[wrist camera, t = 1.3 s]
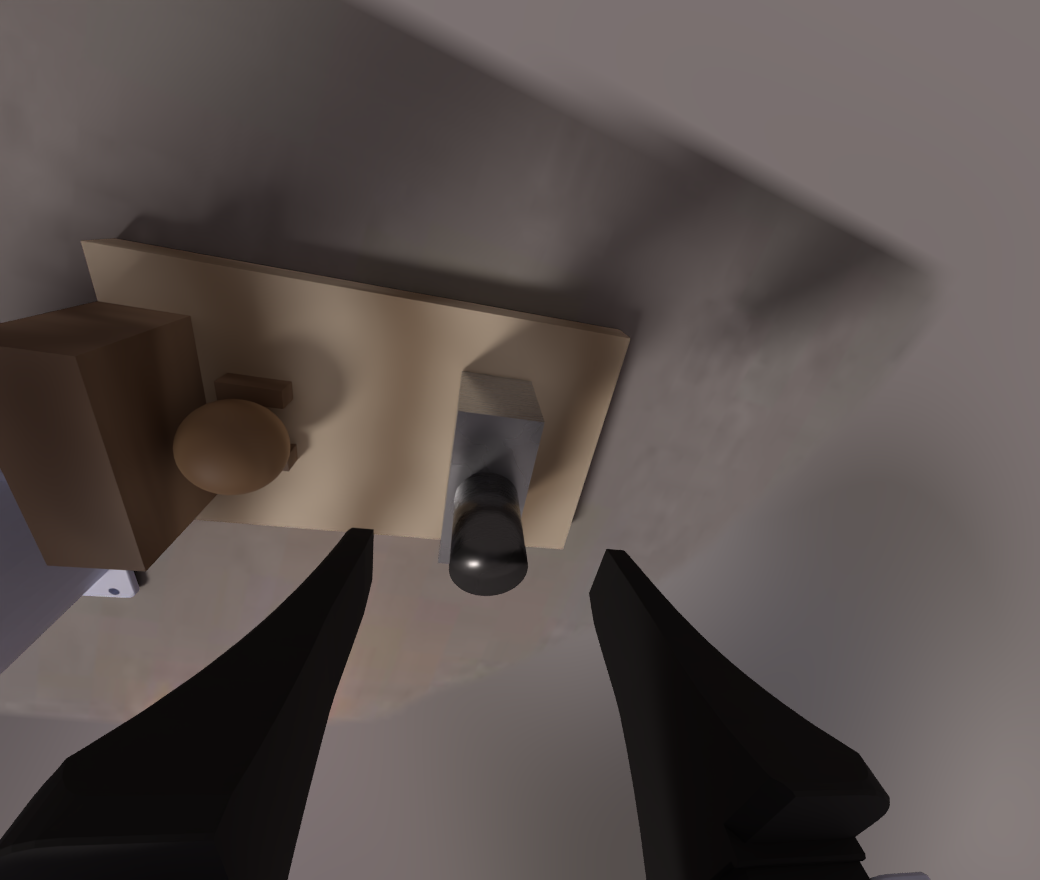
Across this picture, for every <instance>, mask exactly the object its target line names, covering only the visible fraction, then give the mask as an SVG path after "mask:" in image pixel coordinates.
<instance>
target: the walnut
mask: <svg viewBox="0 0 1040 880" xmlns="http://www.w3.org/2000/svg"><path fill="white" fill-rule="evenodd" d="M173 454H174V459H175V462H176V464H177V466H178V468H179V470H180V471H181V473H182V474H183V475H184V476H185V477H186V478H187V479H188V480H189V481H190V482H191V483H193V484H194V485H196V486H197V487H199V488H201V489H203V490H206V491H209V492H212V493H216V494H222V495H240V494H246V493H250V492H253V491H256V490H259V489H261V488H263V487H265V486H266V485H268V484H269V483H271V482H272V481H273V480H275V479H276V478H277V477H278V476H279V474H280V473H281V472H282V471H283V469H284V467H285V466H286V464H287V461H288V458H289V455H290V438H289V435H288V431H287V429H286V427H285V426H284V424H283V423H282V421H281V420H280V419H279V418H278V417H277V416H276V415H275V414H274V413H273V412H272V411H270V410H269V409H267V408H265V407H264V406H262V405H259V404H257V403H254V402H251V401H247V400H240V399H224V400H217V401H214V402H210V403H207V404H205V405H203V406H201V407H199V408H197V409H195V410H194V411H192V412H191V413H190V414H189V415H188V416H187V417H186V418H185V419H184V420H183V421H182V422H181V424H180V425H179V427H178V429H177V431H176V433H175V436H174V440H173Z"/></svg>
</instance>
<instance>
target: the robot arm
mask: <svg viewBox="0 0 1040 880" xmlns="http://www.w3.org/2000/svg"><path fill="white" fill-rule="evenodd" d="M373 538H374V529H364V528H350V529H349V530H348V531H347V532H346V533H345V535H344V536H343V537H342V539H341V540H340V541H339V542H338V544H337V545H336V546H335V547H334V548H333V550H332V551H331V552H330V553H329V554H328V556H327V557H326V558H325V559H324V560H323V561H322V562H321V564H320V565H319V566H318V567H317V568H316V569H315V570H314V571H313V572H312V573H311V574H310V575H309V577H308V578H307V579H306V580H305V581H304V582H303V583H302V584H301V585H300V586H299V587H298V588H297V589H296V590H295V591H294V592H293V593H292V594H291V595H290V596H289V597H288V598H287V599H286V600H285V601H284V602H283V603H282V604H281V605H280V606H279V607H278V608H277V609H275V610H274V611H273V612H272V613H271V614H270V615H269V616H268V617H267V618H266V619H264V620H263V621H262V622H261V623H260V624H259V625H258V626H257V627H255V628H254V629H253V630H252V631H251V632H249V633H248V634H247V635H246V636H245V637H244V638H242V639H241V640H240V641H239V642H237V643H236V644H235V645H234V646H232V647H231V648H230V649H229V650H227V651H226V652H225V653H224V654H222V655H221V656H220V657H218V658H217V659H216V660H215V661H213V662H212V663H211V664H209V665H208V666H207V667H205V668H204V669H203V670H201V671H200V672H199V673H197V674H196V675H195V676H193V677H192V678H190V679H189V680H187V681H186V682H185V683H183V684H182V685H180V686H179V687H177V688H176V689H174V690H173V691H172V692H170V693H169V694H167V695H166V696H164V697H163V698H161V699H160V700H159V701H157V702H156V703H154V704H153V705H151V706H150V707H148V708H147V709H145V710H144V711H142V712H141V713H139V714H138V715H136V716H135V717H133V718H131V719H130V720H128V721H127V722H125V723H123V724H122V725H120V726H119V727H117V728H115V729H114V730H112V731H111V732H109V733H107V734H106V735H104V736H102V737H101V738H99V739H98V740H96V741H94V742H93V743H91V744H90V745H88V746H86V747H85V748H83V749H81V750H80V751H78V752H77V753H75V754H73V755H71V756H70V757H68V758H67V759H66V760H65V761H64V762H63V763H62V764H61V766H60V767H59V768H58V769H57V770H56V771H55V772H54V774H53V775H52V776H51V777H50V778H49V779H48V780H47V781H46V782H45V783H44V784H43V786H42V787H41V788H40V789H39V790H38V792H37V793H36V794H35V795H34V796H33V798H32V799H31V800H30V801H29V803H28V804H27V806H26V807H25V808H24V809H23V811H22V812H21V813H20V814H19V816H18V817H17V818H16V820H15V821H14V822H13V824H12V825H11V826H10V828H9V829H8V830H7V831H6V833H5V834H4V835H3V837H2V838H1V839H0V880H287V879H288V875H289V871H290V867H291V863H292V858H293V854H294V850H295V846H296V842H297V838H298V834H299V829H300V825H301V821H302V817H303V813H304V809H305V805H306V801H307V797H308V793H309V789H310V785H311V781H312V777H313V773H314V769H315V765H316V761H317V758H318V754H319V750H320V746H321V742H322V739H323V735H324V731H325V727H326V724H327V720H328V716H329V712H330V709H331V706H332V703H333V699H334V696H335V693H336V690H337V687H338V685H339V682H340V679H341V676H342V673H343V671H344V668H345V665H346V662H347V660H348V657H349V654H350V651H351V649H352V646H353V643H354V640H355V637H356V635H357V632H358V629H359V626H360V623H361V620H362V618H363V615H364V611H365V607H366V603H367V599H368V595H369V591H370V587H371V582H372V571H373ZM138 591H139V585H138V582H137V580H136V577H135V574H134V571H129V570H112V569H96V568H79V567H62V566H47V564H46V562H45V560H44V558H43V556H42V554H41V552H40V550H39V548H38V546H37V544H36V542H35V539H34V537H33V535H32V533H31V531H30V529H29V527H28V525H27V523H26V521H25V519H24V517H23V515H22V512H21V510H20V508H19V506H18V504H17V502H16V500H15V498H14V496H13V494H12V492H11V490H10V487H9V485H8V483H7V481H6V479H5V477H4V475H3V473H2V471H1V469H0V674H1V673H2V672H3V671H5V670H6V669H7V668H8V667H9V666H10V665H11V664H12V663H13V662H14V661H15V660H16V659H17V658H18V657H19V656H20V655H21V654H22V653H23V652H24V651H25V650H26V649H27V648H28V647H29V646H30V645H31V644H33V643H34V642H35V641H36V640H37V639H38V638H39V637H40V636H41V635H42V634H43V633H44V632H45V631H46V630H47V629H48V628H49V627H50V626H51V625H52V624H53V623H54V622H55V621H56V620H57V619H58V618H59V617H61V616H62V615H63V614H64V613H65V612H66V611H67V610H68V609H69V608H70V607H71V606H72V605H73V604H74V603H75V602H76V601H77V600H78V599H79V598H80V597H81V596H82V595H83V596H103V597H123V598H129V597H133V596H135V594H136V593H137V592H138ZM589 595H590V602H591V609H592V615H593V620H594V625H595V629H596V633H597V636H598V640H599V643H600V647H601V650H602V653H603V657H604V660H605V663H606V666H607V670H608V674H609V677H610V680H611V683H612V687H613V690H614V694H615V697H616V701H617V705H618V708H619V713H620V717H621V722H622V727H623V732H624V738H625V742H626V747H627V753H628V759H629V764H630V770H631V775H632V781H633V787H634V793H635V800H636V807H637V813H638V820H639V826H640V833H641V840H642V849H643V857H644V864H645V872H646V880H930V878H929V877H928V876H927V875H926V874H924V873H922V872H913V873H898V874H885V875H879V876H876V877H873V878H869V877H868V875H867V873H866V872H865V870H864V868H863V867H862V865H861V863H860V861H863V860H865V859H866V857H865V853H864V851H863V849H862V848H861V846H860V844H859V843H858V841H857V840H856V838H855V837H856V836H857V835H858V834H860V833H861V832H862V831H864V830H865V829H867V828H868V827H869V826H871V825H872V824H874V823H875V822H876V821H878V820H879V819H880V818H881V817H882V816H883V815H885V814H886V812H887V811H888V809H889V806H890V798H889V796H888V794H887V793H886V792H885V790H884V789H883V787H882V786H881V784H880V783H879V782H878V780H877V779H876V777H875V776H874V774H873V773H872V772H871V770H870V769H869V767H868V766H867V765H866V763H865V762H864V760H863V759H862V757H861V756H860V755H859V753H857V752H856V751H854V750H853V749H851V748H849V747H848V746H846V745H845V744H843V743H842V742H840V741H838V740H837V739H835V738H834V737H832V736H830V735H829V734H827V733H826V732H824V731H823V730H821V729H820V728H818V727H816V726H815V725H813V724H812V723H810V722H809V721H807V720H806V719H804V718H803V717H802V716H800V715H799V714H797V713H796V712H795V711H793V710H792V709H790V708H789V707H788V706H786V705H785V704H783V703H782V702H781V701H779V700H778V699H777V698H775V697H774V696H772V695H771V694H770V693H768V692H767V691H766V690H765V689H763V688H762V687H761V686H760V685H758V684H757V683H756V682H755V681H753V680H752V679H751V678H749V677H748V676H747V675H746V674H744V673H743V672H742V671H741V670H740V669H738V668H737V667H736V666H735V665H734V664H732V663H731V662H730V661H729V660H728V659H727V658H726V657H724V656H723V655H722V654H721V653H720V652H719V651H718V650H717V649H716V648H715V647H713V646H712V645H711V644H710V643H709V642H708V641H707V640H706V639H705V638H704V637H703V636H702V635H700V633H698V631H697V630H696V629H695V628H694V627H693V626H692V625H691V624H690V623H689V622H688V621H687V620H686V619H685V618H684V617H683V616H682V615H681V614H680V613H679V612H678V611H677V610H676V609H675V608H674V607H673V605H672V604H671V603H670V602H669V601H668V600H667V599H666V598H665V597H664V595H662V594H661V592H660V591H659V590H658V589H657V588H656V586H655V585H654V584H653V583H652V582H651V581H650V580H649V578H648V577H647V576H646V575H645V574H644V573H643V571H642V570H641V569H640V568H639V567H638V566H637V564H636V563H635V562H634V561H633V560H632V559H631V558H630V556H629V555H628V554H627V553H626V552H625V551H624V550H612V549H606V551H605V554H604V556H603V559H602V562H601V564H600V567H599V569H598V572H597V574H596V577H595V580H594V582H593V585H592V587H591V590H590V592H589Z"/></svg>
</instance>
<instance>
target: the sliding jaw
mask: <svg viewBox="0 0 1040 880" xmlns="http://www.w3.org/2000/svg"><path fill="white" fill-rule="evenodd" d="M544 423H545V422H544V419H543V416H542V413H541V410H540V406H539V403H538V400H537V397H536V394H535V391H534V388H533V385H532V382H531V381H526V380H520V379H513V378H506V377H500V376H493V375H487V374H480V373H474V372H467V371H462V374H461V382H460V389H459V397H458V405H457V412H456V420H455V428H454V435H453V443H452V451H451V458H450V466H449V474H448V481H447V489H446V496H445V504H444V513H443V522H442V531H441V539H440V548H439V557H438V563H447V564H449V573H450V577H451V579H452V581H453V582H454V583H455V584H456V585H457V586H458V587H459V588H460V589H462V590H464V591H466V592H468V593H471V594H474V595H481V596H492V595H498V594H502V593H505V592H507V591H509V590H511V589H513V588H515V587H516V586H517V585H518V584H519V583H520V582H521V581H522V580H523V579H524V577H525V575H526V573H527V569H528V562H527V555H526V548H525V541H524V534H523V527H522V520H521V517H522V513H523V509H524V505H525V501H526V497H527V492H528V488H529V484H530V480H531V476H532V472H533V468H534V464H535V460H536V456H537V452H538V448H539V444H540V440H541V435H542V431H543V427H544Z"/></svg>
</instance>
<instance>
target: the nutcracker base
mask: <svg viewBox="0 0 1040 880" xmlns="http://www.w3.org/2000/svg"><path fill="white" fill-rule="evenodd" d="M81 244H82V248H83V251H84V255H85V258H86V262H87V265H88V269H89V272H90V276H91V279H92V283H93V286H94V290H95V293H96V297H97V300H98V301H96V302H92V303H87V304H83V305H79V306H74V307H70V308H66V309H61V310H57V311H52V312H48V313H44V314H39V315H35V316H31V317H26V318H22V319H17V320H13V321H9V322H4V323H0V469H1V471H2V473H3V475H4V477H5V479H6V481H7V483H8V485H9V487H10V490H11V492H12V494H13V496H14V498H15V500H16V502H17V504H18V506H19V508H20V510H21V512H22V515H23V517H24V519H25V521H26V523H27V525H28V527H29V529H30V531H31V533H32V535H33V537H34V539H35V542H36V544H37V546H38V548H39V550H40V552H41V554H42V556H43V558H44V560H45V562H46V564H47V566H62V567H79V568H96V569H112V570H129V571H147V570H148V568H149V567H150V566H151V565H152V564H153V563H154V562H155V561H156V560H157V559H158V558H159V557H160V556H161V554H162V553H163V552H164V551H165V550H166V549H167V548H168V547H169V546H170V545H171V544H172V543H173V542H174V541H175V539H176V538H177V537H178V536H179V535H180V534H181V533H182V532H183V531H184V530H185V529H186V528H187V527H188V525H189V524H190V523H191V522H192V521H193V520H204V521H217V522H229V523H242V524H254V525H267V526H279V527H292V528H304V529H316V530H329V531H341V532H347V531H348V530H349V529H350V528H364V529H374V534H379V535H391V536H404V537H416V538H429V539H441V531H442V522H443V513H444V504H445V496H446V489H447V481H448V474H449V466H450V458H451V451H452V443H453V435H454V428H455V420H456V412H457V405H458V397H459V389H460V382H461V374H462V371H467V372H474V373H480V374H487V375H493V376H500V377H506V378H513V379H520V380H526V381H531V382H532V385H533V388H534V391H535V394H536V397H537V400H538V403H539V406H540V410H541V413H542V416H543V419H544V422H545V423H544V427H543V431H542V435H541V440H540V444H539V448H538V452H537V456H536V460H535V464H534V468H533V472H532V476H531V480H530V484H529V488H528V492H527V497H526V501H525V505H524V509H523V513H522V517H521V520H522V527H523V534H524V541H525V546H528V547H541V548H553V549H563V547H564V544H565V541H566V538H567V535H568V532H569V529H570V526H571V522H572V519H573V516H574V513H575V510H576V507H577V504H578V501H579V498H580V494H581V491H582V488H583V485H584V482H585V479H586V476H587V473H588V469H589V466H590V463H591V460H592V457H593V454H594V451H595V448H596V445H597V441H598V438H599V435H600V432H601V429H602V426H603V423H604V420H605V417H606V413H607V410H608V407H609V404H610V401H611V398H612V395H613V392H614V389H615V385H616V382H617V379H618V376H619V373H620V370H621V367H622V364H623V360H624V357H625V354H626V351H627V348H628V345H629V342H630V339H631V338H629V337H628V336H627V335H626V334H624V333H623V332H622V331H621V330H618V329H613V328H607V327H602V326H596V325H591V324H585V323H580V322H574V321H569V320H563V319H558V318H552V317H547V316H541V315H536V314H530V313H525V312H519V311H513V310H508V309H502V308H497V307H491V306H486V305H480V304H475V303H469V302H464V301H458V300H453V299H447V298H442V297H436V296H431V295H425V294H420V293H414V292H408V291H403V290H397V289H392V288H386V287H381V286H375V285H370V284H364V283H359V282H353V281H348V280H342V279H337V278H331V277H326V276H320V275H315V274H309V273H304V272H298V271H292V270H287V269H281V268H276V267H270V266H265V265H259V264H254V263H248V262H243V261H237V260H232V259H226V258H221V257H215V256H210V255H204V254H199V253H193V252H187V251H182V250H176V249H171V248H165V247H160V246H154V245H149V244H143V243H138V242H132V241H127V240H121V239H116V238H113V239H98V240H83V241H81ZM224 399H240V400H247V401H251V402H254V403H257V404H259V405H262V406H264V407H265V408H267V409H269V410H270V411H272V412H273V413H274V414H275V415H276V416H277V417H278V418H279V419H280V420H281V421H282V423H283V424H284V426H285V427H286V429H287V431H288V435H289V438H290V455H289V458H288V461H287V464H286V466H285V467H284V469H283V471H282V472H281V473H280V474H279V476H278V477H277V478H276V479H275V480H273V481H272V482H271V483H269V484H268V485H266V486H265V487H263V488H261V489H259V490H256V491H253V492H250V493H246V494H240V495H222V494H216V493H212V492H209V491H206V490H203V489H201V488H199V487H197V486H196V485H194V484H193V483H191V482H190V481H189V480H188V479H187V478H186V477H185V476H184V475H183V474H182V473H181V471H180V470H179V468H178V466H177V464H176V462H175V459H174V454H173V440H174V436H175V433H176V431H177V429H178V427H179V425H180V424H181V422H182V421H183V420H184V419H185V418H186V417H187V416H188V415H189V414H190V413H191V412H192V411H194V410H195V409H197V408H199V407H201V406H203V405H205V404H207V403H210V402H214V401H217V400H224Z"/></svg>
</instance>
